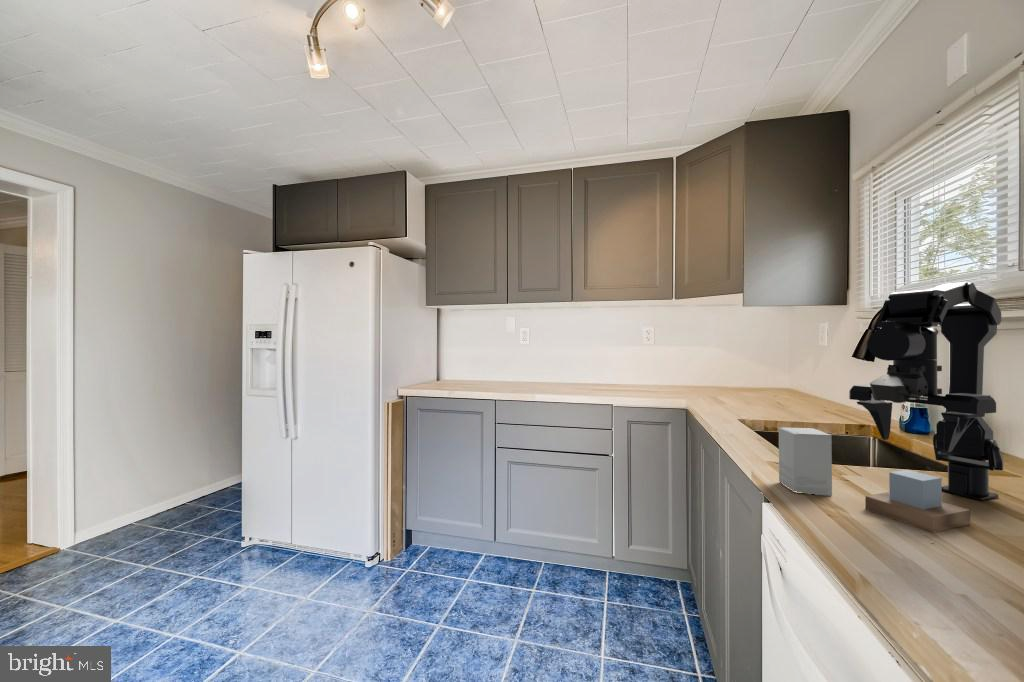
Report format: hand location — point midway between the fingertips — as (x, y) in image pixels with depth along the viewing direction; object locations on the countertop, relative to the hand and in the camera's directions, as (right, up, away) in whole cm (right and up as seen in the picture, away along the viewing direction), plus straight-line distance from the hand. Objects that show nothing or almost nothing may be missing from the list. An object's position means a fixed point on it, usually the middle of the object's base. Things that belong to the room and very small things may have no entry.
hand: (914, 445), depth 75 cm
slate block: (0, -10, 0) cm, 10 cm away
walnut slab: (0, -13, 0) cm, 13 cm away
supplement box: (-10, -13, +14) cm, 22 cm away
